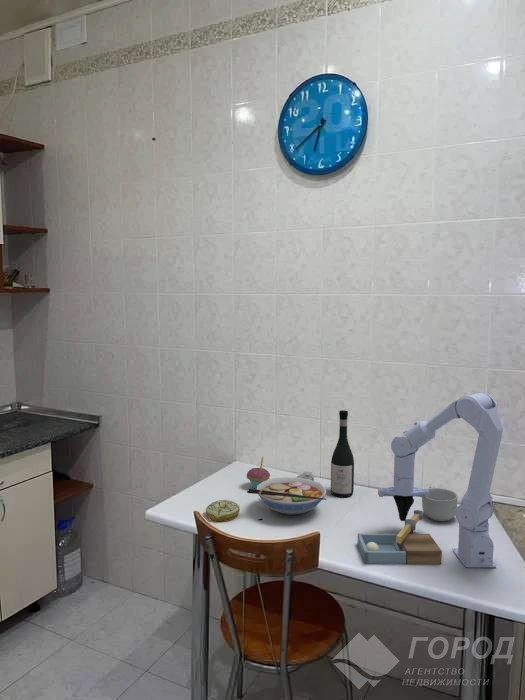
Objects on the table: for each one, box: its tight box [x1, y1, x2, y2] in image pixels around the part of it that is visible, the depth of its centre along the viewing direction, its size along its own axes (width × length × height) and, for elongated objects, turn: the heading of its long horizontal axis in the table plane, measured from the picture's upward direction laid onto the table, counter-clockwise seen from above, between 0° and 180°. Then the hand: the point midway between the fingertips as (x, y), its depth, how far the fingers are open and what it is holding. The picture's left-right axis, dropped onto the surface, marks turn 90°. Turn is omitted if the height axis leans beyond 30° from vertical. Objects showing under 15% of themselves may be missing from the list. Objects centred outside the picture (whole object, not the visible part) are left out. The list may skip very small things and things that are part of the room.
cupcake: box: [246, 456, 271, 489], centre depth 185 cm, size 9×8×12 cm
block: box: [396, 530, 443, 565], centre depth 138 cm, size 12×9×4 cm
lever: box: [396, 509, 424, 544], centre depth 142 cm, size 20×3×2 cm, turn 147°
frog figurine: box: [296, 471, 315, 481], centre depth 183 cm, size 6×7×7 cm
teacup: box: [421, 485, 459, 522], centre depth 162 cm, size 14×11×8 cm
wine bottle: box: [330, 410, 355, 498], centre depth 179 cm, size 8×8×30 cm
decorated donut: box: [205, 499, 241, 522], centre depth 161 cm, size 10×11×4 cm
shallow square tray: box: [357, 533, 407, 565], centre depth 137 cm, size 11×11×3 cm
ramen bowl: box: [246, 476, 327, 516], centre depth 165 cm, size 25×23×8 cm
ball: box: [366, 542, 379, 551], centre depth 135 cm, size 4×4×4 cm
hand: (402, 519), depth 150 cm, fingers closed
